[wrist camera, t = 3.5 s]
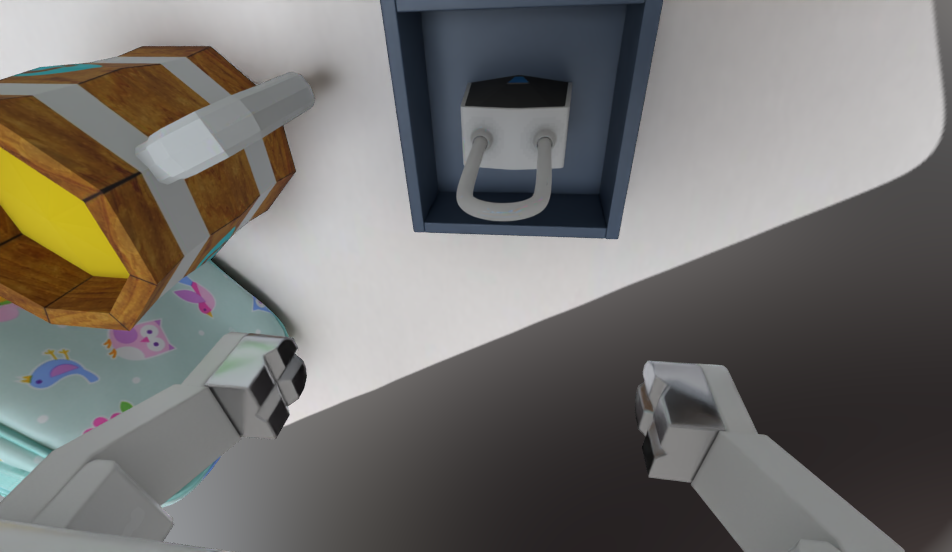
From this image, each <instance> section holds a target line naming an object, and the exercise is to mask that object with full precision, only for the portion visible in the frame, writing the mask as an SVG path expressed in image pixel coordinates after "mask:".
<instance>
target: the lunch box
mask: <svg viewBox="0 0 952 552" xmlns="http://www.w3.org/2000/svg"><path fill="white" fill-rule="evenodd" d="M229 332H241V333H255V334H265V335H275V336H286V337H289V336H288V333H287V331H286V329H285V327H284V325H283V323H282V322H281V321H280V320H279V318H278V317H277V316H276V315H275V314H274V313H273V312H272V311H271V310H270V309H269V308H267V307H266V306H265V305H264V304H263V303H262V302H260V301H259V300H258V299H257V298H255V297H254V296H253V295H251V294H250V293H249V292H248V291H246V290H245V289H244V288H243V287H241V286H240V285H239V284H238V283H237V282H235V281H234V280H233V279H232V278H230V277H229V276H228V275H227V274H226V273H224V272H223V271H222V270H221V269H220V268H219V267H218V266H217V265H215V264H214V263H213V262H212V261H211V260H209V261H207V262H206V263H204V264H203V265H201V266H200V267H199V268H197V269H196V270H194V271H193V272H191V273H190V274H188V275H187V276H185V277H184V278H182V279H181V280H180V281H179V282H178V283H177V284H176V285H174V286H173V287H172V288H171V289H170V290H169V291H167V292H166V293H165V294H164V295H163V296H162V297H160V298H159V299H158V300H157V301H156V302H155V303H154V304H153V306H152V307H151V308H150V309H149V310H148V311H147V312H146V313H145V315H144V316H143V317H142V318H141V319H140V320H139V321H138V322H137V324H136V325H135V326H134V327H133V328H132V329H131V330H130V331H124V330H112V329H101V328H89V327H78V326H67V325H55V324H50V323H48V322H46V321H45V320H43V319H41V318H39V317H37V316H35V315H34V314H32V313H30V312H28V311H26V310H24V309H22V308H21V307H19V306H17V305H15V304H13V303H11V302H10V301H8V300H6V299H4V298H2V297H0V495H1V496H4V497H6V496H7V495H8V494H9V493H10V492H11V491H12V490H13V489H14V488H15V487H16V486H17V485H18V484H19V483H20V482H21V481H22V480H23V479H24V478H25V477H26V476H27V475H28V474H29V473H30V472H31V471H32V470H33V469H34V468H35V467H36V466H37V465H39V464H40V463H41V462H42V461H43V460H44V459H45V458H46V457H47V456H48V455H49V454H50V453H51V452H52V451H54V450H55V449H57V448H59V447H61V446H63V445H64V444H66V443H68V442H70V441H72V440H74V439H75V438H77V437H79V436H81V435H83V434H84V433H86V432H88V431H90V430H92V429H94V428H95V427H97V426H99V425H101V424H103V423H105V422H106V421H108V420H110V419H112V418H114V417H115V416H117V415H119V414H121V413H123V412H125V411H126V410H128V409H130V408H132V407H134V406H135V405H137V404H139V403H141V402H143V401H145V400H146V399H148V398H150V397H152V396H154V395H155V394H157V393H159V392H161V391H163V390H165V389H166V388H168V387H170V386H172V385H174V384H182V382H183V381H184V380H185V379H186V378H187V377H188V376H189V374H190V373H191V372H192V371H193V370H194V369H195V368H196V366H197V365H198V364H199V363H200V362H201V361H202V359H203V358H204V357H205V356H206V355H207V354H208V353H209V351H210V350H211V349H212V348H213V347H214V346H215V345H216V343H217V342H218V341H219V340H220V339H221V338H222V337H223V335H225V334H227V333H229ZM220 457H221V456H220ZM220 457H219V458H218V459H217V460H216V461H214V462H213V463H212V464H211V465H209V466H208V467H207V468H206V469H205V470H203V471H202V472H201V473H200V474H199V475H197V476H196V477H195V478H194V479H193V480H191V481H190V482H189V483H188V484H187V485H185V486H184V487H183V488H182V489H181V490H179V491H178V492H177V493H176V494H174V495H173V496H172V497H171V498H170V499H168V500H167V501H166V502H165V503H164V504H162V505H161V507H162V508H163V507H165V506H169V505H171V504H174V503H175V502H178V501H179V500H181V499H182V498H184V497H185V496H186V495H188V494H189V493H190V492H191V491H192V490H193V489H195V488H196V487H197V486H198V484H199V483H200V482H201V481H202V480H203V479H204V478H205V477H206V476H207V474H208V473H209V472H210V471H211V470H212V468H213V467H214V465H215V464H216V463H217V461H218V460H219V459H220Z"/></svg>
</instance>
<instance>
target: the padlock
mask: <svg viewBox="0 0 952 552" xmlns="http://www.w3.org/2000/svg"><path fill="white" fill-rule="evenodd" d="M571 92H572V82H564V81H557V80H551V79H544V78H538V77H531V76H525V75H515V76H509V77H502V78H496V79H490V80H484V81H478V82H472V83H468V84H467V87H466V90H465V93H464V97H463V100H462V103H461V126H462V147H463V165H464V169H463V172H462V175H461V178H460V181H459V184H458V188H457V196H456V197H457V202H458V205H459V206H460V208H461V209H462V210H463V211H465V212H466V213H468V214H470V215H472V216H474V217H477V218H481V219H485V220H491V221H515V220H521V219H525V218H529V217H532V216H534V215H536V214H538V213H540V212H541V211H542V210H544V209H545V207H546V206H547V204H548V202H549V199H550V194H551V184H552V169H554V168H563V167H564V158H565V150H566V141H567V132H568V122H569V112H570V102H571ZM479 167H482V168H494V169H507V170H525V169H537V173H536V185H535V191H534V194H533V196H532V197H531V198H529V199H527V200H524V201H520V202H514V203H492V202H486V201H482V200H479V199H477V198H475V197H473V190H474V185H475V181H476V177H477V174H478V171H479Z"/></svg>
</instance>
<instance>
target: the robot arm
mask: <svg viewBox="0 0 952 552" xmlns="http://www.w3.org/2000/svg"><path fill="white" fill-rule="evenodd" d="M297 349H298V347H297V345H296V343H295V341H294V338H291V337H286V336H275V335H265V334H255V333H241V332H229V333H227V334H225V335H223V337H222V338H221V339H220V340H219V341H218V342H217V343H216V345H215V346H214V347H213V348H212V349H211V350H210V351H209V353H208V354H207V355H206V356H205V357H204V358H203V359H202V361H201V362H200V363H199V364H198V365H197V366H196V368H195V369H194V370H193V371H192V372H191V373H190V374H189V376H188V377H187V378H186V379H185V380H184V381H183V382H182V384H174V385H172V386H170V387H168V388H166V389H165V390H163V391H161V392H159V393H157V394H155V395H154V396H152V397H150V398H148V399H146V400H145V401H143V402H141V403H139V404H137V405H135V406H134V407H132V408H130V409H128V410H126V411H125V412H123V413H121V414H119V415H117V416H115V417H114V418H112V419H110V420H108V421H106V422H105V423H103V424H101V425H99V426H97V427H95V428H94V429H92V430H90V431H88V432H86V433H84V434H83V435H81V436H79V437H77V438H75V439H74V440H72V441H70V442H68V443H66V444H64V445H63V446H61V447H59V448H57V449H55V450H54V451H52V452H51V453H50V454H49V455H48V456H47V457H46V458H45V459H44V460H43V461H42V462H41V463H40V464H39V465H37V466H36V467H35V468H34V469H33V470H32V471H31V472H30V473H29V474H28V475H27V476H26V477H25V478H24V479H23V480H22V481H21V482H20V483H19V484H18V485H17V486H16V487H15V488H14V489H13V490H12V491H11V492H10V493H9V494H8V495H7V496H6V497H5V498H4V499H3V500H2V501H1V502H0V552H233V551H226V550H219V549H212V548H204V547H196V546H190V545H183V544H175V543H168V542H163V541H164V539H165V538H166V536H167V535H168V533H169V532H170V530H171V529H172V527H173V525H174V524H173V518H172V517H171V516H170V515H169V514H168V513H167V512H166V511H165V510H164V509H163V508H162V507H161V505H162V504H164V503H165V502H166V501H167V500H168V499H170V498H171V497H172V496H173V495H174V494H176V493H177V492H178V491H179V490H181V489H182V488H183V487H184V486H185V485H187V484H188V483H189V482H190V481H191V480H193V479H194V478H195V477H196V476H197V475H199V474H200V473H201V472H202V471H203V470H205V469H206V468H207V467H208V466H209V465H211V464H212V463H213V462H214V461H216V460H217V459H218V458H219V457H220V456H222V455H223V454H224V453H225V452H226V451H228V450H229V449H230V448H231V447H232V446H234V445H235V444H236V443H237V442H238V441H240V440H241V437H249V438H264V439H276V438H277V436H278V434H279V432H280V431H281V429H282V427H283V425H284V424H285V422H286V420H287V418H288V417H289V415H290V414H289V409H288V406H289V405H290V404H292V403H293V402H295V401H296V400H298V399H299V397H300V395H301V393H302V391H303V390H304V387H305V382H306V378H307V374H306V367H305V364H304V361H303V360H302V359H301V358H299V357H298V356H297V355H296V354H295V352H296V350H297ZM642 373H643V376H644V381H645V382H644V383H642V384H641V385H639V386H638V389H637V394H636V401H635V413H636V420H637V425H638V429H639V430H640V431H641V432H642V433H643V434H644V435H645V436H646V437H645V440H644V443H643V446H642V449H643V454H644V459H645V463H646V468H647V472H648V477H652V478H660V479H667V480H675V481H683V482H691V483H692V484H691V485H692V486H693V488H694V489H695V490H696V491H697V492H698V494H699V495H700V496H701V498H702V499H703V500H704V502H705V503H706V504H707V505H708V507H709V508H710V509H711V510H712V512H713V513H714V514H715V515H716V517H717V518H718V519H719V520H720V522H721V523H722V524H723V525H724V527H725V528H726V529H727V530H728V532H729V533H730V534H731V536H732V537H733V538H734V539H735V540H736V542H737V543H738V544H739V545H740V547H741V548H742V549H743V551H744V552H905V551H904V549H903V548H902V547H900V546H899V545H898V544H897V543H896V542H895V541H893V540H892V539H891V538H890V537H888V536H887V535H886V534H885V533H883V532H882V531H881V530H880V529H879V528H878V527H876V526H875V525H874V524H873V523H872V522H870V521H869V520H868V519H866V517H864V516H863V515H862V514H861V513H859V512H858V511H857V510H856V509H855V508H854V507H852V506H851V505H850V504H849V503H847V502H846V501H845V500H844V499H843V498H842V497H840V496H839V495H838V494H836V492H834V491H833V490H832V489H830V488H829V487H828V486H827V485H826V484H825V483H823V482H822V481H821V480H820V479H819V478H817V477H816V476H815V475H814V474H812V473H811V472H810V471H809V470H808V469H806V468H805V467H804V466H803V465H802V464H801V463H799V462H798V461H797V460H796V459H795V458H793V457H792V456H791V455H790V454H789V453H787V452H786V451H785V450H784V449H782V448H781V447H780V446H779V445H778V444H776V443H775V442H774V441H773V440H772V439H770V438H769V437H768V436H767V435H761V434H758V433H757V431H756V429H755V427H754V425H753V422H752V420H751V419H750V416H749V414H748V412H747V410H746V408H745V406H744V403H743V401H742V399H741V397H740V395H739V393H738V391H737V389H736V386H735V384H734V382H733V380H732V378H731V376H730V374H729V372H728V370H727V369H726V368H725V367H724V366H723V365H708V364H693V363H677V362H659V361H647V363H646V364H645V366H644V369H643V372H642Z"/></svg>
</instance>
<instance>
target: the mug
mask: <svg viewBox="0 0 952 552" xmlns="http://www.w3.org/2000/svg"><path fill="white" fill-rule="evenodd" d="M314 101H315V97H314V94H313V92H312V89H311V87H310V85H309V84H308V83H307V81H306V80H305V79H304V78H303V77H302V75H300V74H297V73H294V72H289V73H286V74H284V75H281V76H279V77H276V78H274V79H271V80H269V81H267V82H264V83H262V84H259V85H257V86H256V85H254V84H253V83H252V82H251V81H250V80H249V79H248V78H246V77H245V76H244V75H243V74H242V73H241V72H239V71H238V70H237V69H236V68H235V67H234V66H232V65H231V64H230V63H229V62H228V61H227V60H225V59H224V58H223V57H222V56H221V55H220V54H219V53H217V52H216V51H215V50H214V49H213V48H212V47H210V46H142V47H140V48H137V49H135V50H132V51H130V52H128V53H125V54H123V55H120V56H118V57H114V58H109V59H104V60H99V61H95V62H90V63H82V64H71V65H60V66H48V67H39V68H36V69H33V70H30V71H27V72H24V73H20V74H17V75H14V76H11V77H8V78H5V79H2V80H0V297H2V298H4V299H6V300H8V301H10V302H11V303H13V304H15V305H17V306H19V307H21V308H22V309H24V310H26V311H28V312H30V313H32V314H34V315H35V316H37V317H39V318H41V319H43V320H45V321H46V322H48V323H50V324H55V325H67V326H78V327H89V328H101V329H112V330H124V331H130V330H131V329H132V328H133V327H134V326H135V325H136V324H137V322H138V321H139V320H140V319H141V318H142V317H143V316H144V315H145V313H146V312H147V311H148V310H149V309H150V308H151V307H152V306H153V304H154V303H155V302H156V301H157V300H158V299H159V298H160V297H162V296H163V295H164V294H165V293H166V292H167V291H169V290H170V289H171V288H172V287H173V286H174V285H176V284H177V283H178V282H179V281H180V280H181V279H182V278H184V277H185V276H187V275H188V274H190V273H191V272H193V271H194V270H196V269H197V268H199V267H200V266H201V265H203V264H204V263H206V262H207V261H209V260H210V259H212V258H213V257H214V256H215V254H216V253H217V252H218V251H219V250H220V249H221V248H222V247H223V246H224V244H225V243H226V242H227V241H228V240H229V239H230V238H231V237H232V235H234V234H235V233H236V232H237V231H238V230H239V229H241V228H242V227H243V226H244V225H245V224H246V223H248V222H249V221H250V220H252V219H254V218H255V217H257V216H259V215H260V214H262V213H264V212H265V211H267V210H268V209H269V207H270V206H271V205H272V203H273V202H274V201H275V199H276V198H277V196H278V195H279V194H280V192H281V191H282V190H283V188H284V187H285V185H286V184H287V183H288V181H289V180H290V179H291V177H292V176H293V174H294V173H295V172H296V170H295V167H294V163H293V160H292V156H291V153H290V149H289V146H288V142H287V139H286V135H285V132H284V128H283V125H284V124H286V123H287V122H289V121H291V120H292V119H294V118H295V117H297V116H299V115H300V114H302V113H304V112H305V111H307V110H309V109H310V108H311V107H312V106H313V105H314Z"/></svg>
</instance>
